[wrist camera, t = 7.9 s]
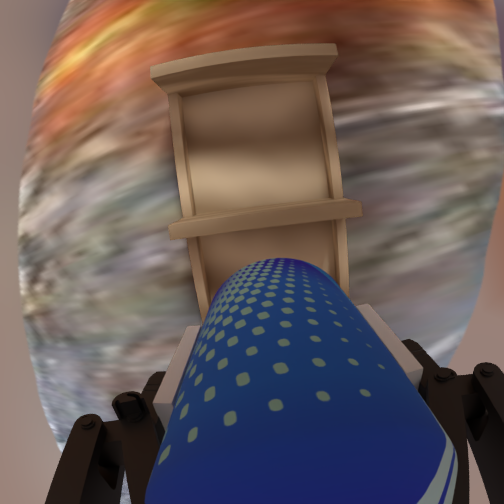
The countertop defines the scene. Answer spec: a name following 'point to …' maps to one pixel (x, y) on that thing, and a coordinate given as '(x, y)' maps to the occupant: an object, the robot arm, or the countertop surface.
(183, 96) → the rack
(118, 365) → the countertop surface
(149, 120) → the countertop surface
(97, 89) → the countertop surface
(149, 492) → the beer can
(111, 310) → the countertop surface
